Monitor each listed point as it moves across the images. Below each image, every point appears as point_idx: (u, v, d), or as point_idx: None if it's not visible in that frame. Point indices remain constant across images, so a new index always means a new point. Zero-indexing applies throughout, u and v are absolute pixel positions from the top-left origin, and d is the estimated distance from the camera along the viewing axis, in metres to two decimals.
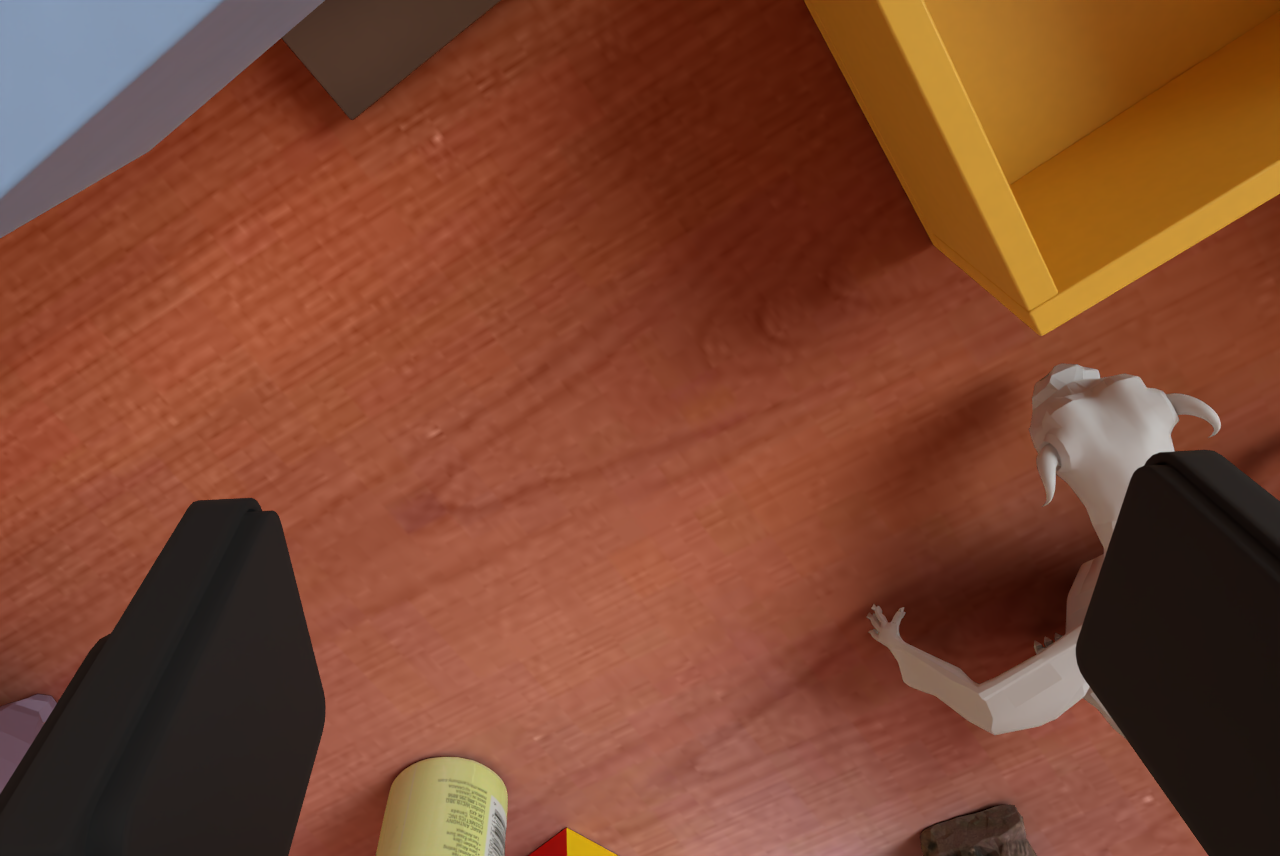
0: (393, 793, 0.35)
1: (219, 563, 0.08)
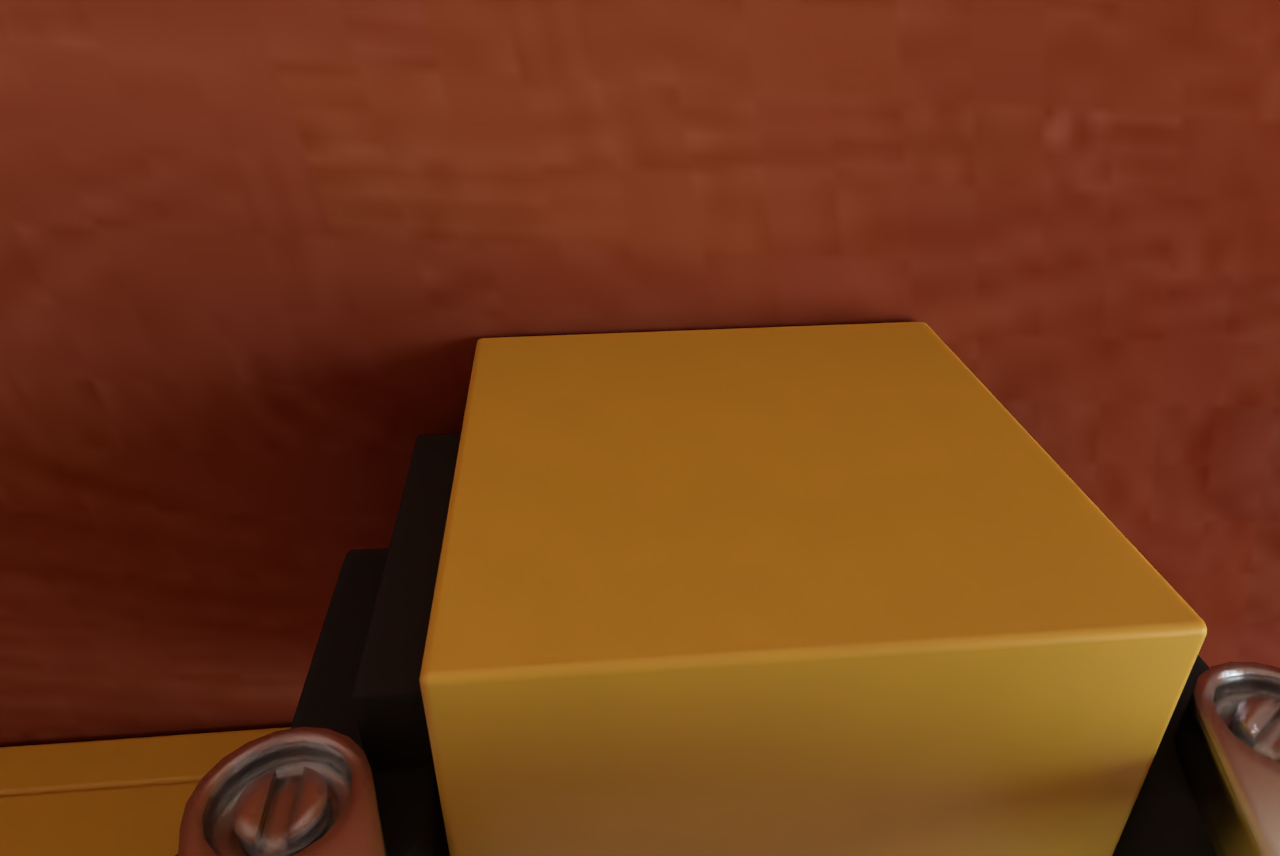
0: None
1: None
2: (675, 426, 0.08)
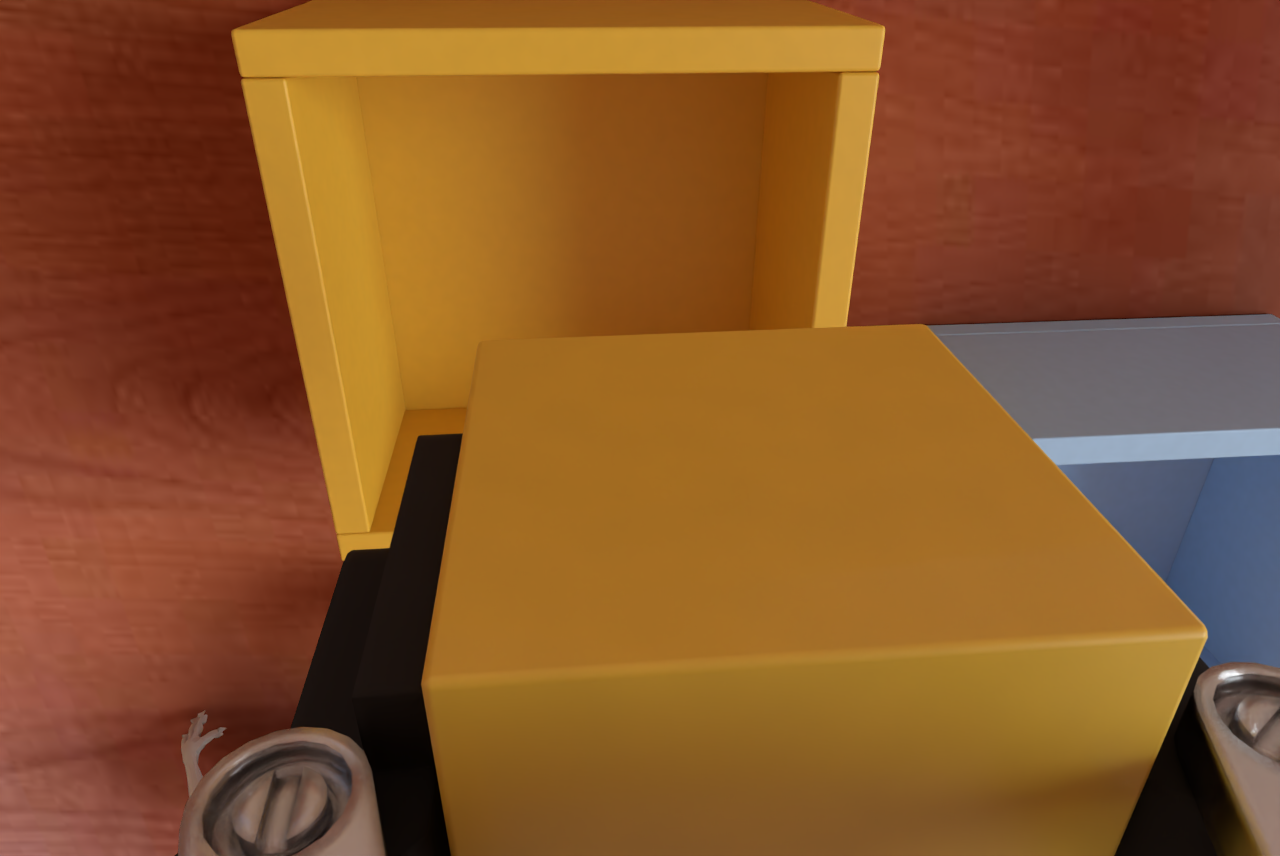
0: None
1: None
2: (674, 430, 0.08)
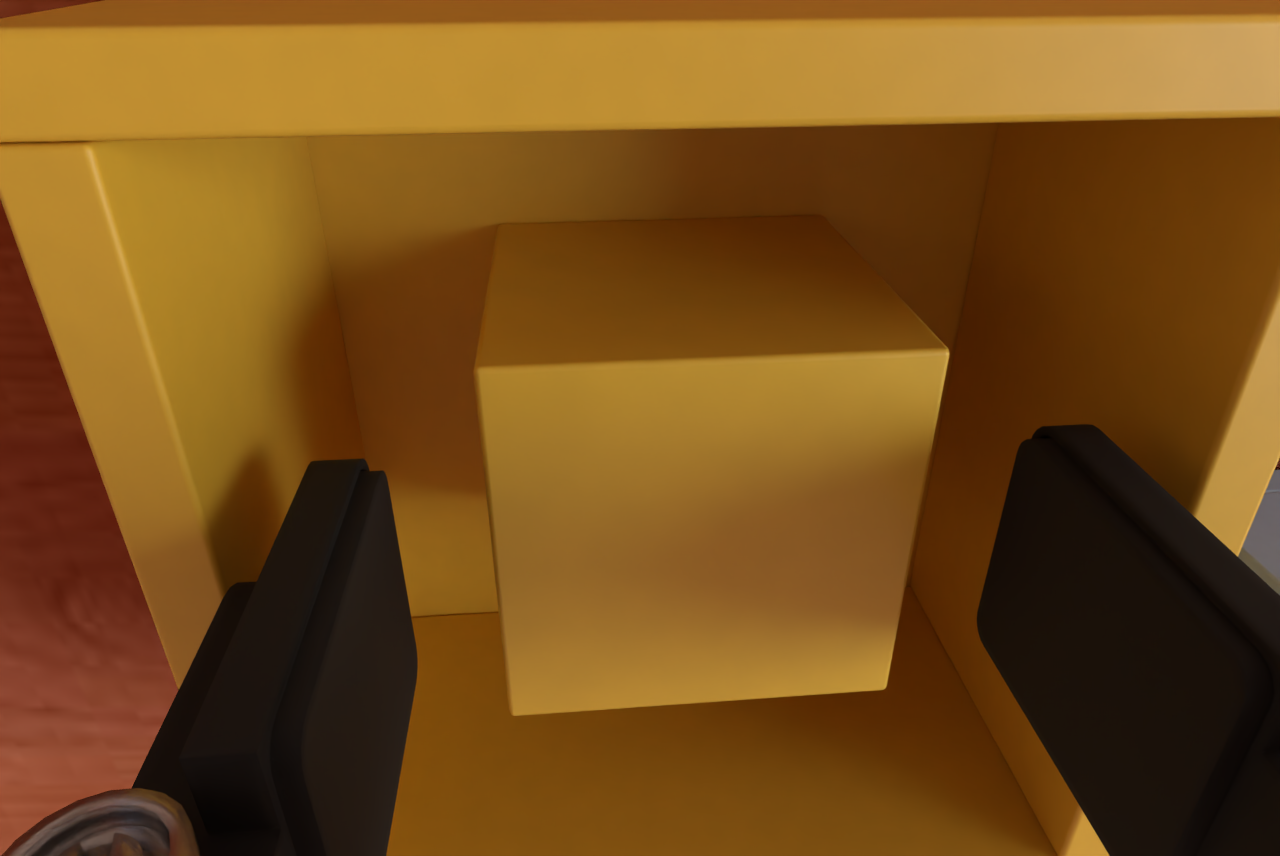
0: None
1: (345, 514, 0.08)
2: (635, 268, 0.11)
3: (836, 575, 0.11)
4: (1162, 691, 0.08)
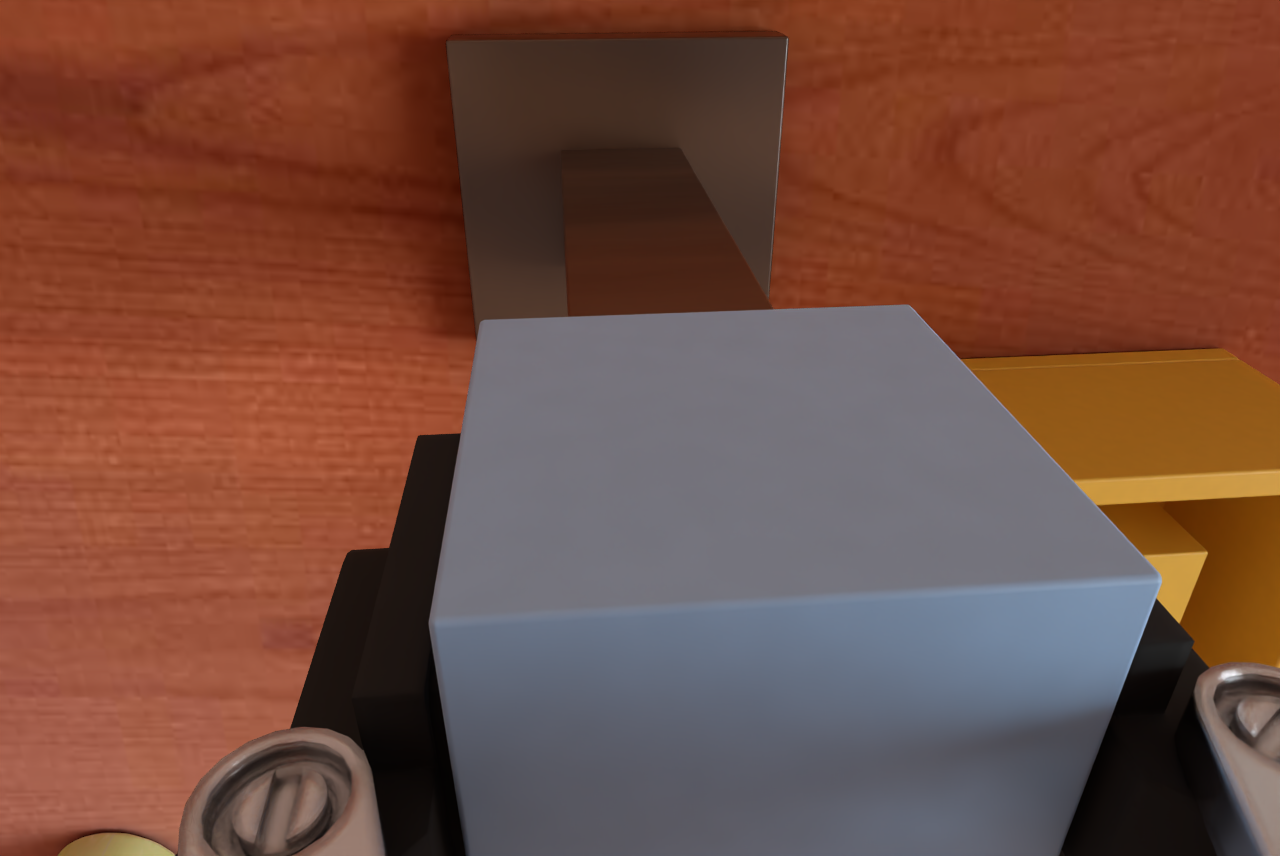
0: None
1: None
2: None
3: None
4: None
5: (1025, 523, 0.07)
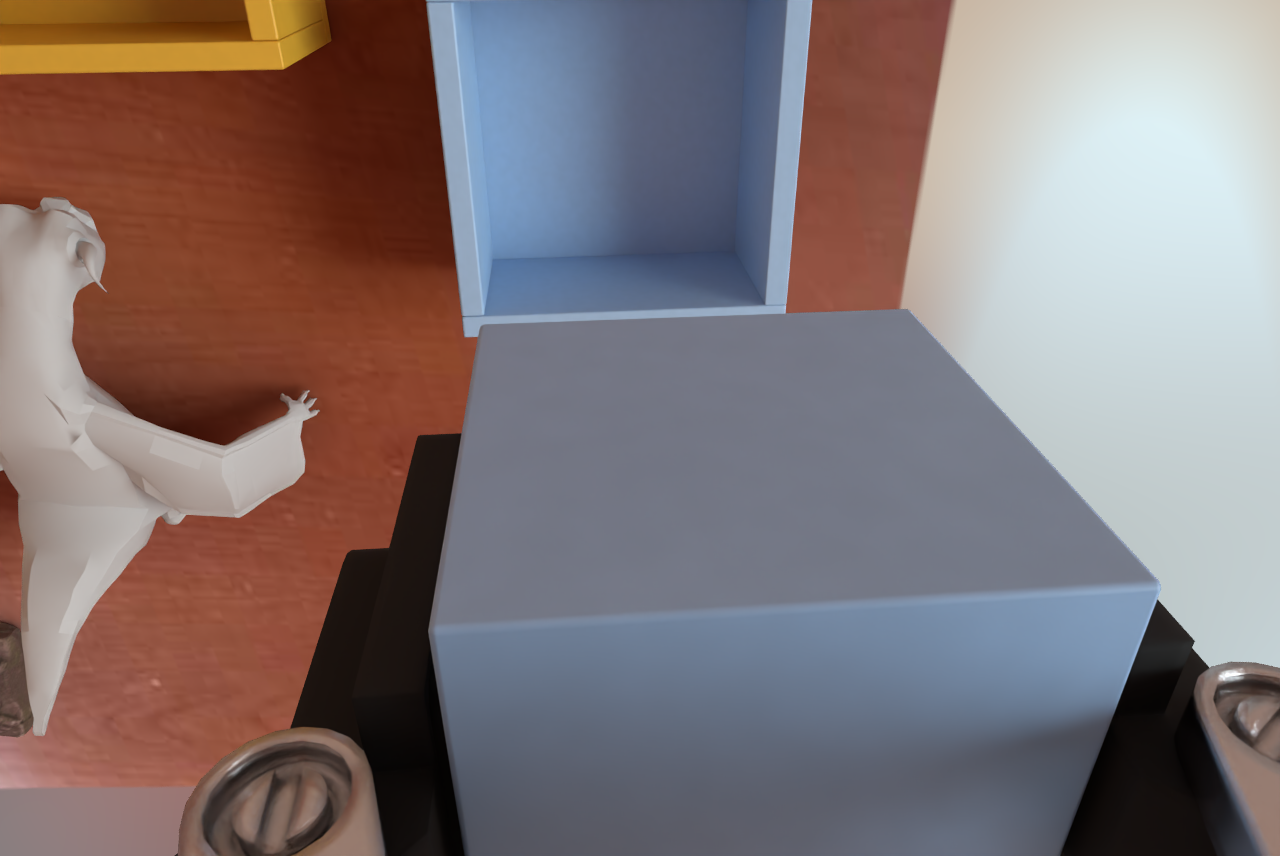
0: None
1: None
2: None
3: None
4: None
5: (1024, 530, 0.07)
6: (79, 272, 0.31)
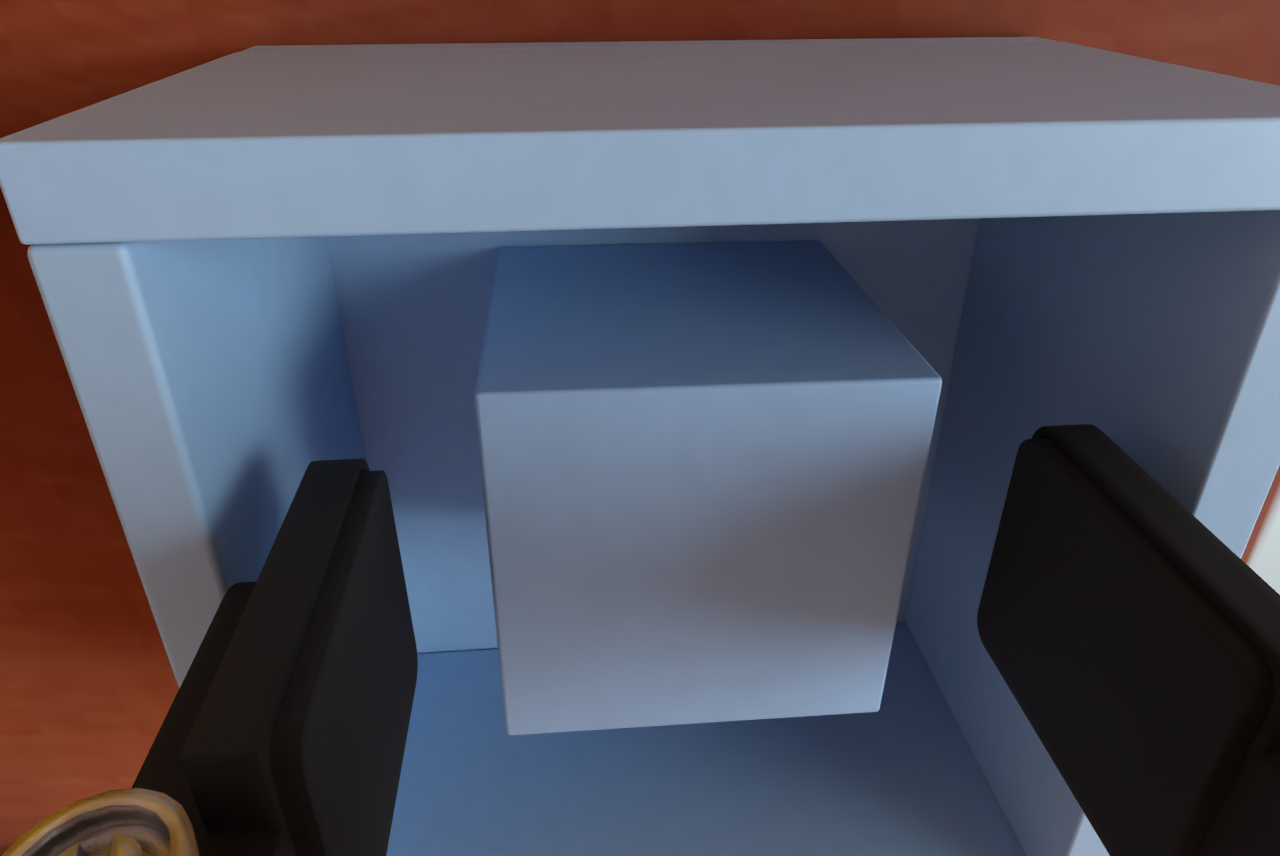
0: None
1: (345, 514, 0.08)
2: None
3: None
4: (1162, 691, 0.08)
5: (863, 354, 0.10)
6: None
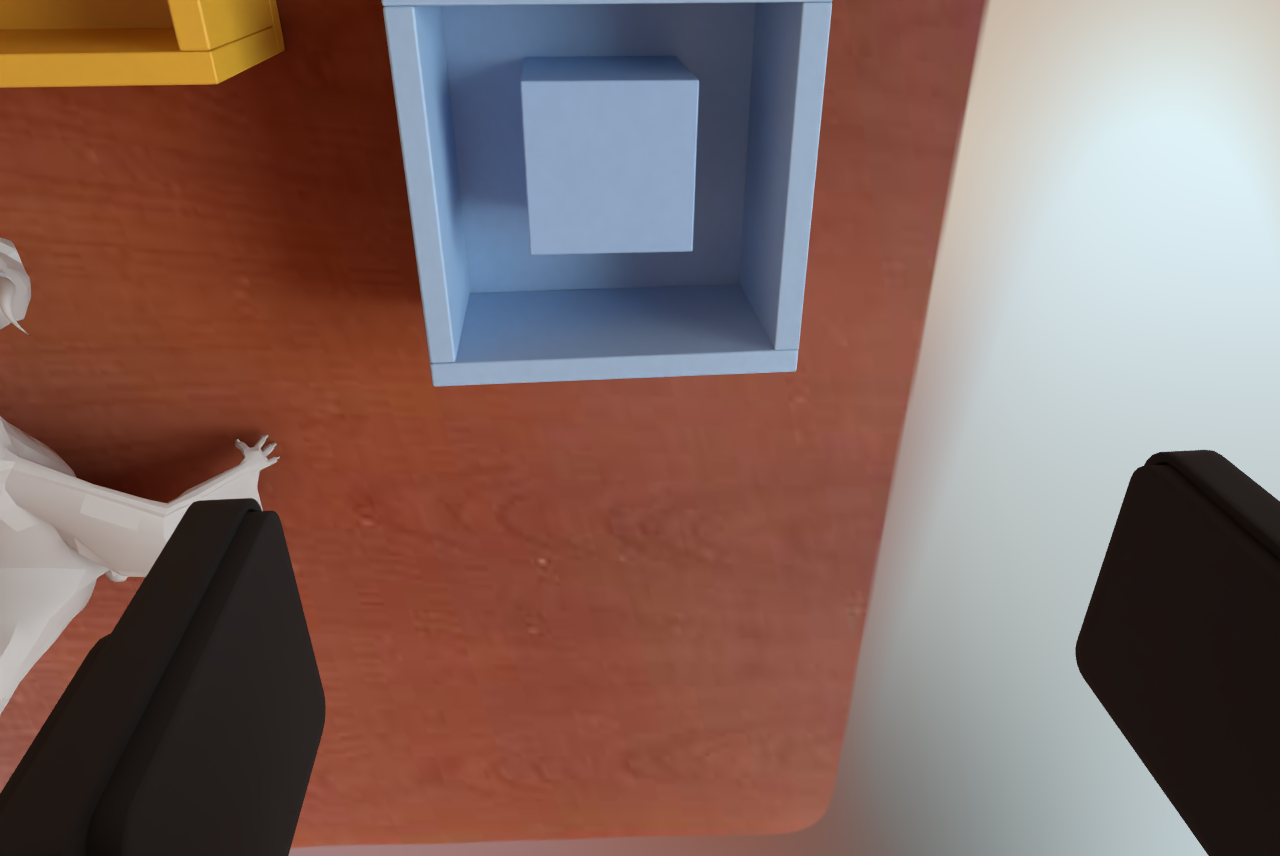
0: None
1: (219, 563, 0.08)
2: None
3: None
4: None
5: (672, 76, 0.25)
6: None
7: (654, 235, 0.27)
